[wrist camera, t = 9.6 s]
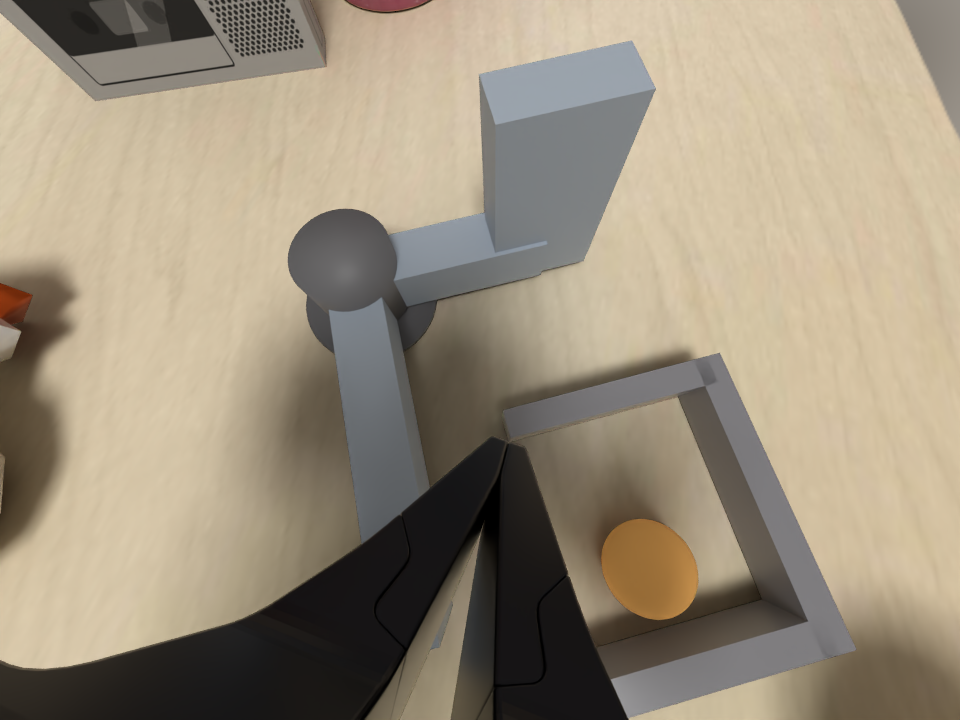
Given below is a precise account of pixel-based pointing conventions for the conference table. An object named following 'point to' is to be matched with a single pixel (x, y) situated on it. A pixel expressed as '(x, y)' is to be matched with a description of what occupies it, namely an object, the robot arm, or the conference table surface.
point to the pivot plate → (409, 323)
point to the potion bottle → (10, 334)
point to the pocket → (758, 528)
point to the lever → (467, 247)
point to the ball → (649, 569)
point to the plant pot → (386, 4)
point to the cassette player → (169, 41)
